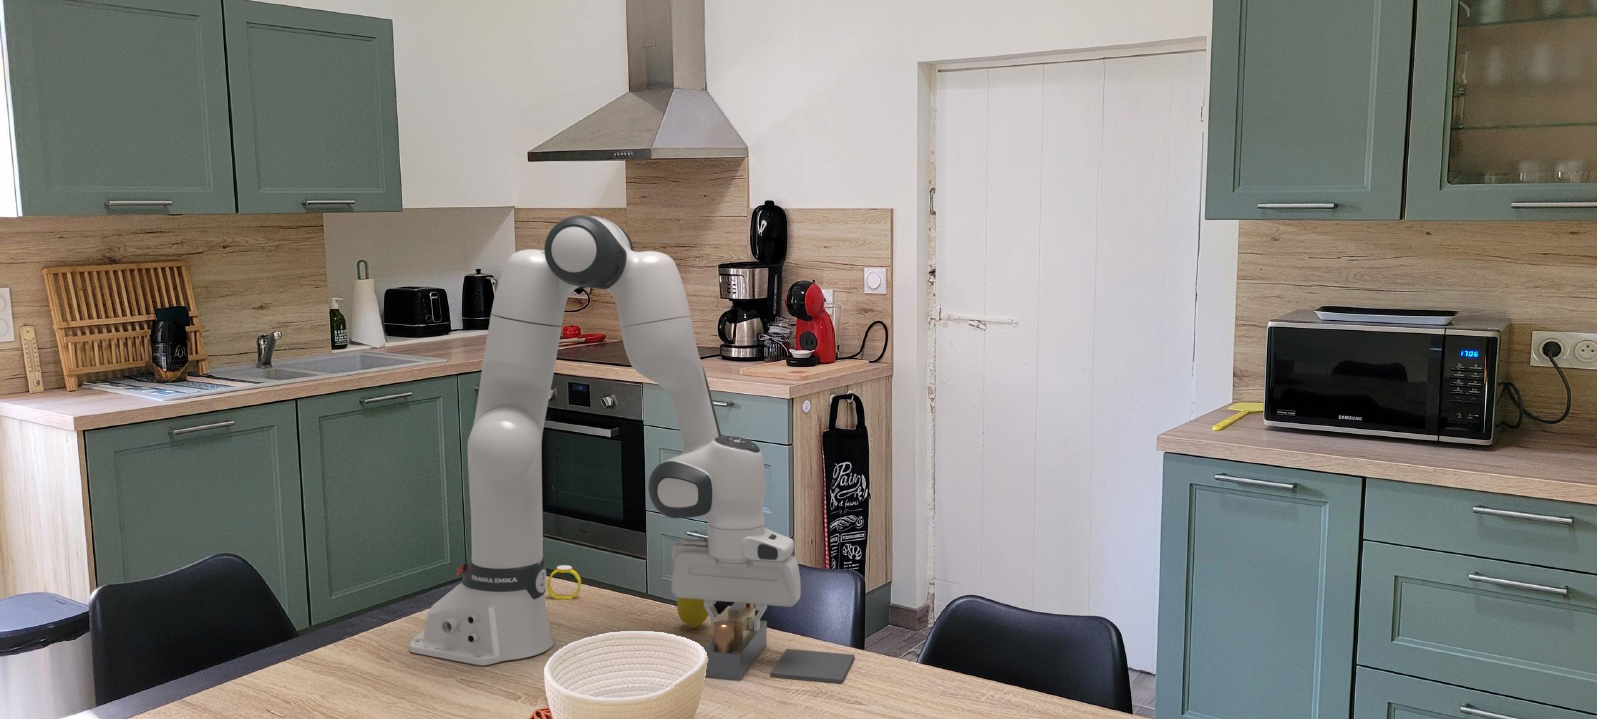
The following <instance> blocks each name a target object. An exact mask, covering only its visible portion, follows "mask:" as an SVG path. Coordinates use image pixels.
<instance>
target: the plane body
mask: <svg viewBox="0 0 1597 719" xmlns="http://www.w3.org/2000/svg"><path fill="white" fill-rule="evenodd" d="M746 607H749V608H755V604H750V603H746ZM767 624H768V622H767V620H760V629H759V630H758V632H757V631H753V632H752V634H751V635H750V636H749V637H748V639H747V640H746V641H745V642H744V644H737V643H734V623H733V622H732V621H727V620H721V621H716V622H715V623H714V628H713V638H712V639H711V640H710V641H709V642H708V643H707V644H706V646H704V648H703V649H705V651H706V652H707V656H708V659H709V660H708V663H707V669H706V677H705V678H710V679H711V678H712V679H719V680H720V679H722V680H729V681H730V680H731V681H732V680H733V681H741V680H742V678H743V677H744V676H745V674H746V673H747V671H748V670H749V669H750V668H751V666H752V665H753V664H754V662H755V661H756V660H757V658H759V656H760V654H761V653H762V651H763V650H764V649H765V647H766V646H767V637H768V636H767V627H768V626H767Z"/></svg>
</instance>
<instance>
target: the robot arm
mask: <svg viewBox="0 0 1597 719" xmlns="http://www.w3.org/2000/svg"><path fill="white" fill-rule="evenodd" d="M682 280H683V279H682V277H681V274H680V271H679V269H678V267H677V264H676V262H675V261H674V260H673V258H672V257H671V256H669V255H668V254H666V253H663V252H661V251H655V250H645V251H635V250H634V244H633V242H632V239H631V237H630V236H629V234H628V233H627V231H625V230H624V228H623V227H621V225H618V224H617V223H615V222H613V221H610V220H609V219H607V218H603V217H601V216H596V215H584V214H579V215H577V214H576V215H572V216H568V217H565V218H564V219H562V220H560V221H559V222H557V223H556V224H555V225H554V226H553V227H552V228H551V229H550V230H549V232H548V234H547V237H546V239H545V243H544V248H543V249H536V248H533V249H531V248H527V249H522V250H518V251H516V252H514V253H513V254H511V255H510V256H509V257H508V258H507V260H506V261H505V263H504V266H503V269H502V271H501V274H500V276H499V280H498V282H497V286H496V289H495V293H494V298H493V302H492V307H491V312H490V318H489V325H488V329H487V335H486V341H485V347H484V353H483V360H482V366H481V375H480V382H479V387H478V395H477V401H476V409H475V414H474V420H473V424H472V428H471V431H470V433H469V436H468V440H467V468H468V470H467V471H468V487H469V488H468V489H469V502H470V505H469V506H470V518H471V519H470V522H471V523H470V524H471V525H470V526H471V527H470V528H471V529H470V530H471V532H470V533H471V534H470V535H471V558H470V559H469V560H468V561H466V562H463V563H462V565H461V566H459V567H458V568H456V571H457V572H456V576H460V575H461V574H462V579H461V582H460V583H459V584H458V585H456V586H455V587H454V588H453V589H451V590H450V591H449V592H447V593H446V594H445V595H443V597H441V598H440V599H439V600H437V601H436V602H434V603H433V605H432V606H431V607H430V609H429V611H428V612H427V615H426V619H425V623H424V630H423V631H421V632H420V633H418V634H417V635H415V637H413V638H412V639H411V641H410V643H409V652H410V653H413V654H419V655H424V656H428V657H429V656H430V657H434V658H439V659H445V660H449V661H455V662H460V663H465V664H469V665H470V664H471V665H476V666H489V665H493V664H497V663H501V662H506V661H513V660H520V659H525V658H528V657H534V656H537V655H539V654H541V653H544V652H546V651H548V650H549V649H550V648H552V647H553V646H554V644H555V639H554V636H553V634H552V631H551V626H550V621H549V618H548V616H549V615H548V610H547V604H546V603H547V602H546V595H545V593H546V591H547V590H546V588H547V567H546V566H547V565H546V563H547V562H546V557H545V556H544V553H543V552H544V550H543V549H544V548H543V546H544V544H543V542H544V538H543V537H544V536H543V535H544V533H543V532H544V530H543V523H544V522H543V473H542V472H543V467H542V465H543V461H542V458H543V457H542V455H543V454H542V450H543V449H542V445H543V444H542V442H543V432H544V426H545V422H546V416H547V410H548V405H549V399H550V394H551V389H552V384H553V379H554V373H555V368H556V362H557V355H558V351H559V345H560V338H561V333H562V327H563V326H562V325H563V322H564V315H565V309H566V304H567V301H568V300H569V297H570V295H571V294H572V292H573V291H575V290H576V289H577V290H583V289H591V288H592V289H598V290H605V291H608V292H609V293H610V294H611V296H612V297H613V299H614V302H615V305H616V307H617V308H616V309H617V312H618V319H619V326H620V332H621V336H622V342H623V347H624V350H625V353H626V357H627V358H628V361H629V363H630V366H631V367H632V368H633V369H634V371H636V372H637V374H640V375H641V376H642V377H644V378H646V379H648V380H650V381H653V382H654V383H656V384H658V385H659V386H660V387H661V388H662V389H664V390H665V391H666V393H667V394H668V396H669V397H670V399H671V401H672V403H673V406H674V410H675V415H676V419H677V423H678V427H679V430H680V434H681V437H682V442H683V451H682V453H681V454H677V455H676V456H673V457H672V458H669V459H666V460H664V461H663V462H661V463H659V464H658V465H657V466H656V467H655V468H654V469H653V470H652V471H651V474H650V476H649V478H648V479H649V480H648V484H647V485H648V486H647V487H648V494H649V498H650V501H651V504H653V506H654V507H655V509H656V510H657V511H658V513H660V514H661V515H663V516H665V517H667V518H670V519H688V518H696V517H701V516H703V517H705V518H706V520H707V538H705V539H704V538H703V539H701V538H688V537H682V538H681V539H680V540H677V541H675V543H674V544H673V545H672V549H671V560H672V562H673V564H674V565H673V570H672V575H671V576H672V577H671V586H670V587H671V588H670V589H671V592H672V594H673V595H674V597H676V598H677V599H678V598H689V599H702V600H704V607H705V609H706V611H707V612H708V614H709V615H708V617H709V618H710V628H713V629H714V623H715V622H716V618H717V617H718V616H719V615H720V614H721V613H720V614H719V613H718V610H717V609H716V607H715V604H716V603H717V602H727V603H728V602H729V603H735V602H738V603H750V604H754V608H755V612H756V611H758V612H757V614H755V617H751V618H750V619H749V620H748V625H749V627H748V631H757V632H758V630H759V629H760V621H761V618H762V617H763V615H764V613H765V612H766V610H767V608H768V606H774V607H775V606H777V607H786V608H787V607H788V608H790V607H793V606H794V605H796V604H797V602H798V601H799V600H800V597H801V592H802V590H801V589H802V588H801V587H802V585H801V575H800V568H799V567H800V566H799V563H798V560H797V558H795V556H794V555H793V554H792V553H793V551H794V548H795V541H794V540H793V539H792V538H791V537H788V536H785V535H783V534H780V533H778V532H776V531H773V530H771V529H768V528H766V524H765V523H766V522H765V517H764V513H763V512H764V511H763V505H764V504H763V503H764V501H765V498H766V497H765V496H766V479H765V478H766V476H765V474H766V473H765V464H764V457H763V453H762V450H761V448H760V447H759V445H757V444H756V443H755V442H753V441H752V440H749V439H747V438H745V437H741V436H740V437H739V436H734V435H733V436H731V435H722V433H721V432H722V431H721V428H720V424H719V422H718V417H717V413H716V409H715V405H714V401H713V397H712V392H711V389H710V385H709V381H708V378H707V375H706V372H705V369H704V367H703V366H704V365H703V362H702V361H701V357H700V354H699V350H698V346H697V342H696V336H695V331H694V327H693V322H692V314H691V311H690V305H689V301H688V297H687V292H686V290H685V286H684V283H683V281H682Z"/></svg>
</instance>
